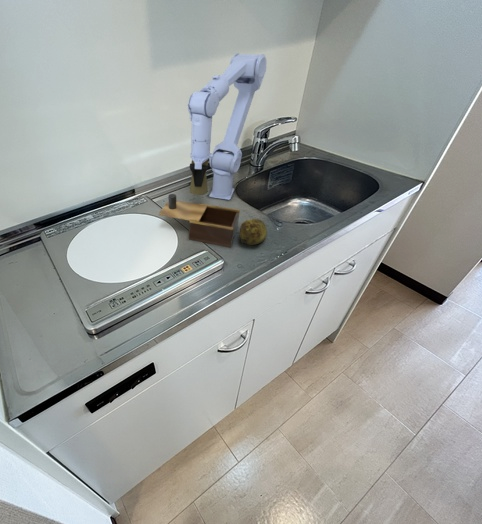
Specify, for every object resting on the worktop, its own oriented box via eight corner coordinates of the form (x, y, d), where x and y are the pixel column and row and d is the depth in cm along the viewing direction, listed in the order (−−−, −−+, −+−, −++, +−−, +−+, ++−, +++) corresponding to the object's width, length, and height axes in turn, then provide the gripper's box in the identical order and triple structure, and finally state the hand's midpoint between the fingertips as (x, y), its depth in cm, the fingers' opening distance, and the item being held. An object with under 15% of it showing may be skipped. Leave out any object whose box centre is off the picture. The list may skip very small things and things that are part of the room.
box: (199, 221, 93) (200, 203, 88) (237, 227, 89) (240, 209, 85) (189, 239, 84) (189, 221, 80) (230, 247, 81) (233, 228, 77)
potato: (276, 238, 84) (283, 215, 79) (251, 256, 78) (256, 232, 73) (253, 227, 89) (258, 205, 84) (227, 243, 83) (230, 220, 77)
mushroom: (197, 185, 96) (199, 153, 89) (211, 190, 93) (213, 157, 86) (185, 191, 93) (186, 157, 86) (199, 196, 90) (200, 162, 83)
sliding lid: (169, 201, 91) (169, 187, 88) (207, 207, 87) (208, 193, 84) (158, 215, 84) (157, 201, 81) (198, 222, 81) (199, 208, 78)
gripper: (213, 147, 76) (210, 193, 85) (215, 132, 87) (212, 174, 96) (188, 146, 77) (187, 192, 86) (193, 131, 88) (191, 173, 97)
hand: (198, 182), depth 91 cm, fingers closed on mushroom, 5 cm apart
